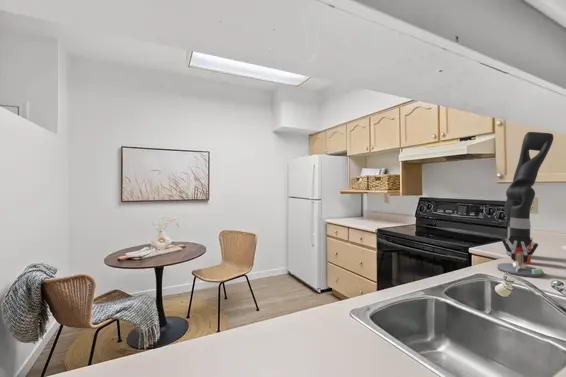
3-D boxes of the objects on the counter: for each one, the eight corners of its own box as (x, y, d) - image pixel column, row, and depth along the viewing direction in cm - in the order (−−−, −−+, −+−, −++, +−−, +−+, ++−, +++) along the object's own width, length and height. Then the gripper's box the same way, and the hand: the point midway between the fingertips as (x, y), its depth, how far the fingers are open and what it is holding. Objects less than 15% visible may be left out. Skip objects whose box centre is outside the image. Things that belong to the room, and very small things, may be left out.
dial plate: (501, 264, 143) (501, 257, 143) (545, 271, 131) (545, 264, 130) (493, 271, 132) (493, 264, 132) (541, 280, 120) (541, 272, 119)
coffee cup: (528, 265, 140) (529, 237, 140) (509, 261, 148) (510, 234, 147) (536, 263, 144) (536, 235, 144) (517, 259, 151) (517, 233, 151)
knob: (514, 265, 136) (514, 251, 135) (527, 267, 132) (527, 253, 132) (510, 269, 129) (510, 254, 129) (523, 272, 125) (524, 256, 125)
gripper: (499, 226, 134) (499, 260, 134) (538, 229, 123) (538, 266, 124) (503, 224, 139) (503, 257, 139) (540, 227, 128) (540, 263, 128)
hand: (519, 261), depth 131 cm, fingers open, 3 cm apart
